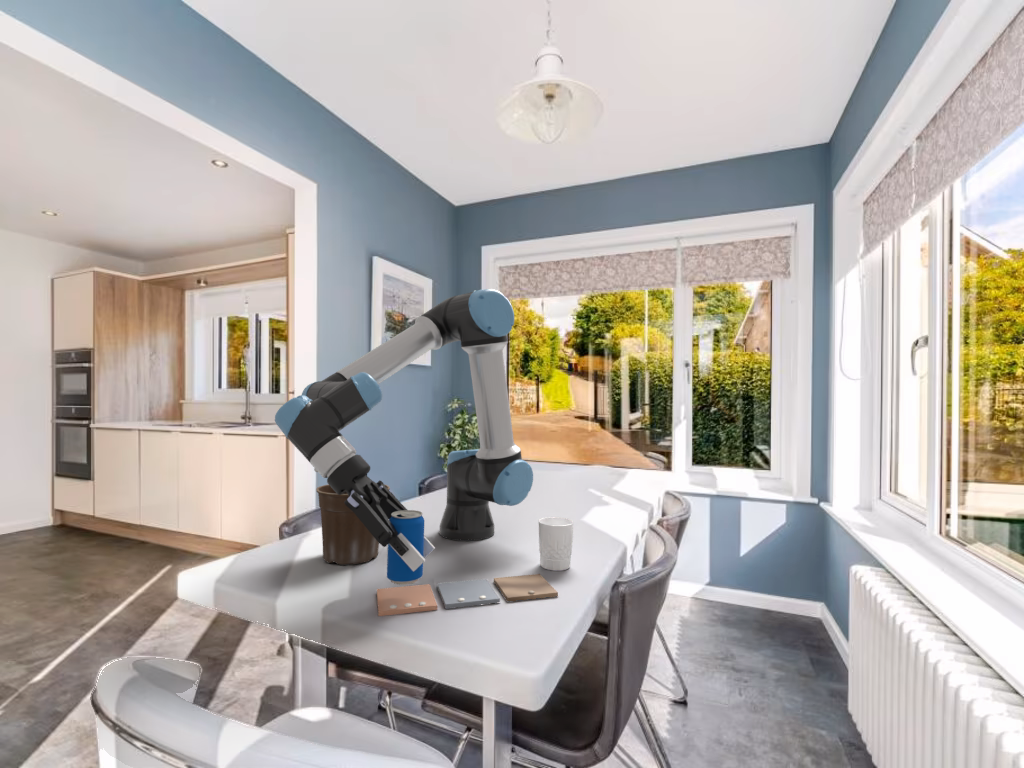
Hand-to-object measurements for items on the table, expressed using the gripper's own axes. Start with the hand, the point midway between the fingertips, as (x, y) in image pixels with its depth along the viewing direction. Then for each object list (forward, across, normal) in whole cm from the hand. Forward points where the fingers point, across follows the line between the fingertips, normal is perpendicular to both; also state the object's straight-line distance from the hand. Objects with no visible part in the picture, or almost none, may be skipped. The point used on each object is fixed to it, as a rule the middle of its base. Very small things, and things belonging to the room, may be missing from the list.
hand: (424, 559), depth 89 cm
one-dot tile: (+18, -9, +7) cm, 21 cm away
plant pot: (-11, -22, -22) cm, 33 cm away
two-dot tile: (+11, -4, 0) cm, 12 cm away
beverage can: (0, 0, -6) cm, 6 cm away
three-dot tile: (+3, 0, -8) cm, 9 cm away
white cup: (+23, -23, +11) cm, 34 cm away
